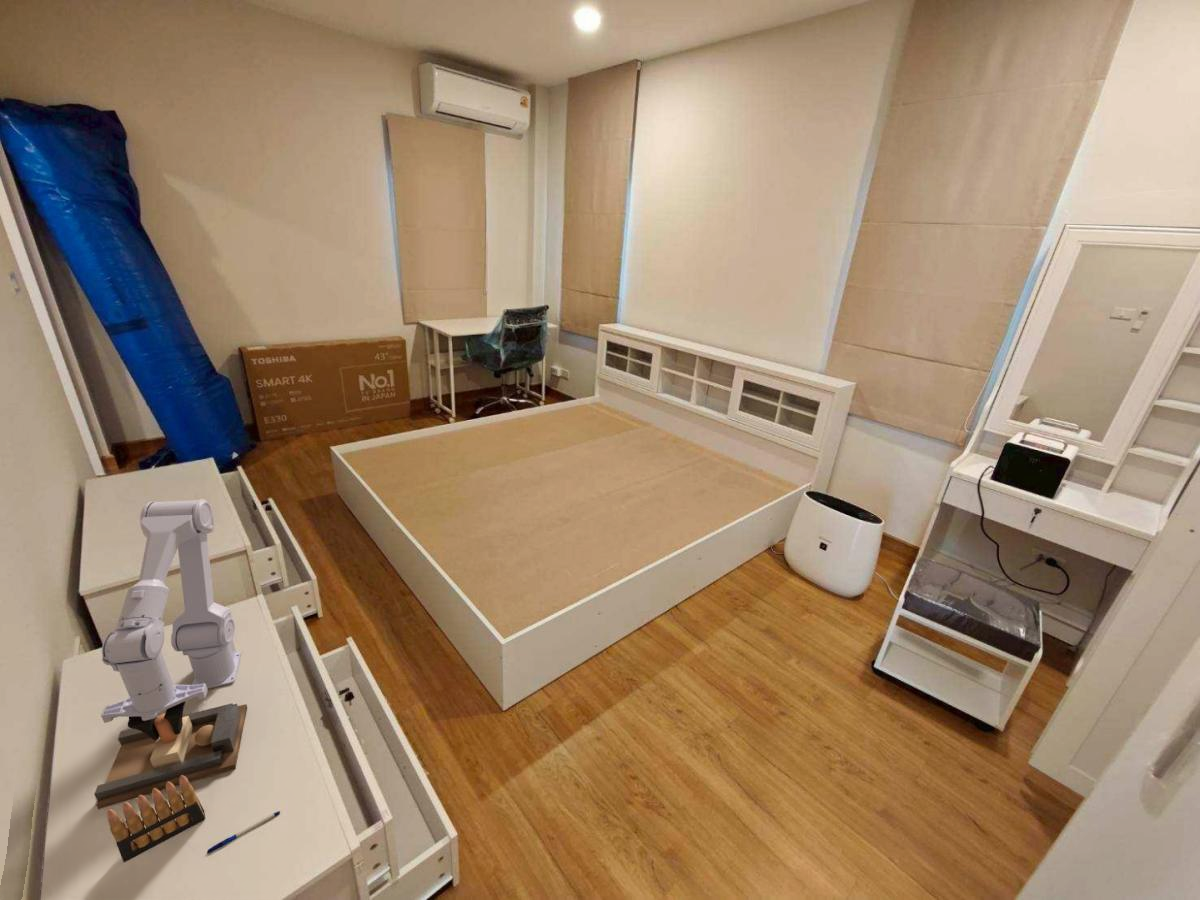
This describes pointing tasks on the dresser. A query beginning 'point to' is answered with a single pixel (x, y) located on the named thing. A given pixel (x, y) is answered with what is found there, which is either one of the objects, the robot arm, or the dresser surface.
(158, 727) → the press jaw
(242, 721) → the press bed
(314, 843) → the dresser surface
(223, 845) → the ballpoint pen
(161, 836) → the ammunition clip
